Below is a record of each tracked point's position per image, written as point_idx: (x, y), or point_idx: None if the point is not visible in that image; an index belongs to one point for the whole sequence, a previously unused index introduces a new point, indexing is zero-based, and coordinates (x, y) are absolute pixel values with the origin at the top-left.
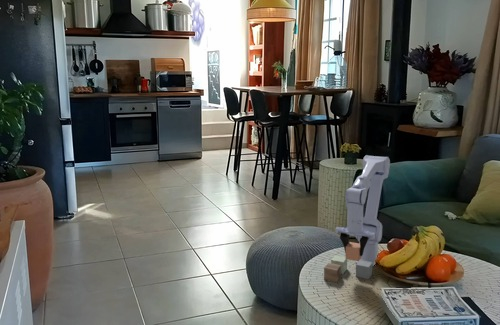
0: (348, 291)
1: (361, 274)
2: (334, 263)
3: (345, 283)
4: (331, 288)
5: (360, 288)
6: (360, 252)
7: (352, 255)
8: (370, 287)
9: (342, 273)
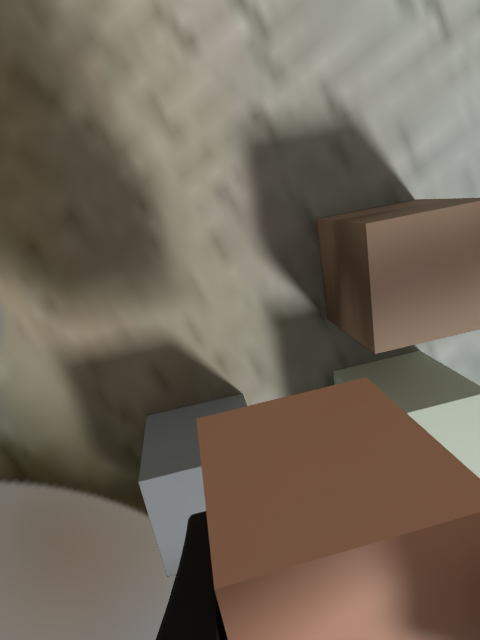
0: (166, 129)
1: (202, 416)
2: (439, 386)
3: (252, 247)
4: (306, 91)
5: (115, 243)
6: (205, 551)
7: (299, 437)
8: (61, 309)
9: (338, 371)
